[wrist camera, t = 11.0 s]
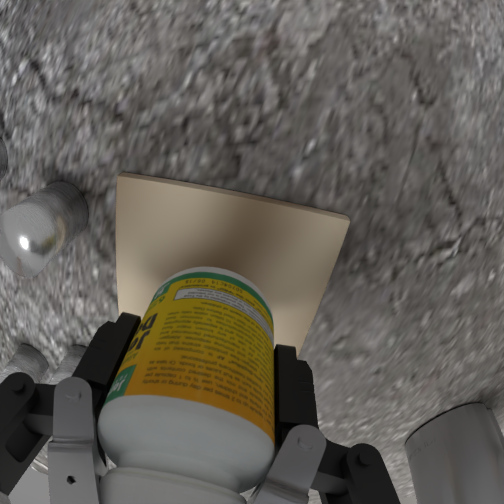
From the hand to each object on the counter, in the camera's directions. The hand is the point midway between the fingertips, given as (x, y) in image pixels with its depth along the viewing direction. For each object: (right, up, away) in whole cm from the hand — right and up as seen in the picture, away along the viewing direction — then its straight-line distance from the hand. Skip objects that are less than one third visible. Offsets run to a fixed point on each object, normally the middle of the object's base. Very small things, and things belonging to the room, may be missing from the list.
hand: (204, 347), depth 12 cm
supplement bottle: (0, +1, +2) cm, 2 cm away
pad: (0, +2, +3) cm, 4 cm away
